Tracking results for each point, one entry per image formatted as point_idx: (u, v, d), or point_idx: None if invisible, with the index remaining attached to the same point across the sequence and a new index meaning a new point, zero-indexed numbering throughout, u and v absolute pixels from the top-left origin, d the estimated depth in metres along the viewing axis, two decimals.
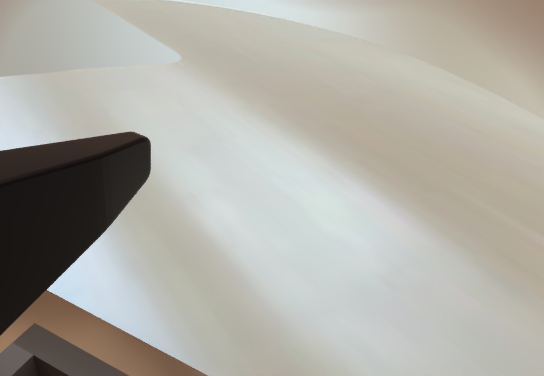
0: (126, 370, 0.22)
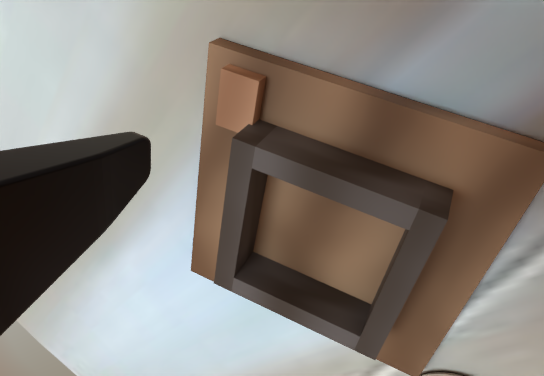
0: (221, 201, 0.26)
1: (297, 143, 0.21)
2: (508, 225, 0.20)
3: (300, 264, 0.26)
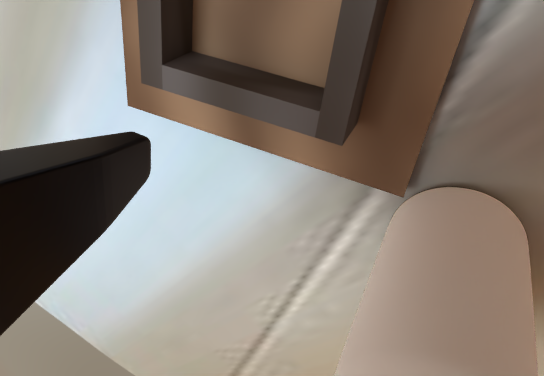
0: None
1: None
2: None
3: (248, 53, 0.21)
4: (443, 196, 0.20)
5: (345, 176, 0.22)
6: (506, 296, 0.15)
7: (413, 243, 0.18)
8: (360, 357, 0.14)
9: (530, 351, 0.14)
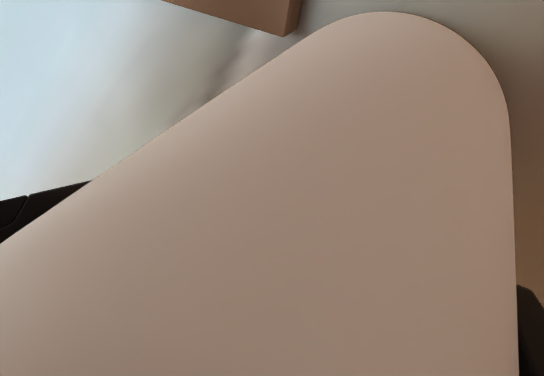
0: None
1: None
2: None
3: None
4: (349, 20, 0.10)
5: (184, 3, 0.12)
6: (442, 156, 0.06)
7: (253, 73, 0.08)
8: None
9: (499, 302, 0.05)
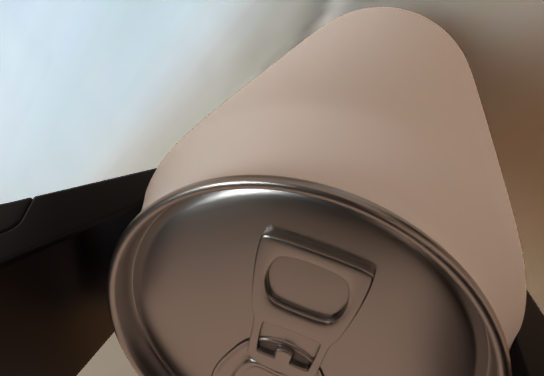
0: None
1: None
2: None
3: None
4: (343, 16, 0.14)
5: None
6: (433, 64, 0.09)
7: (292, 49, 0.11)
8: (162, 160, 0.07)
9: (482, 130, 0.08)
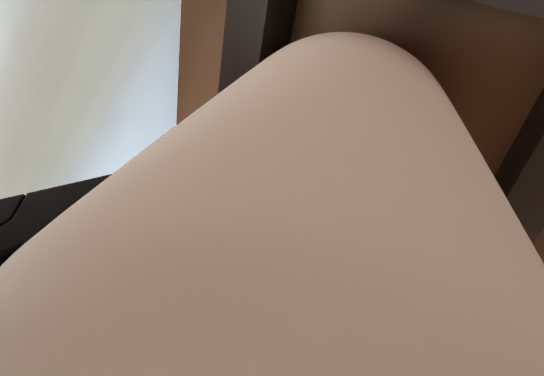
0: (218, 73, 0.17)
1: None
2: None
3: None
4: (295, 43, 0.11)
5: None
6: (425, 109, 0.06)
7: (227, 87, 0.08)
8: None
9: (513, 212, 0.05)
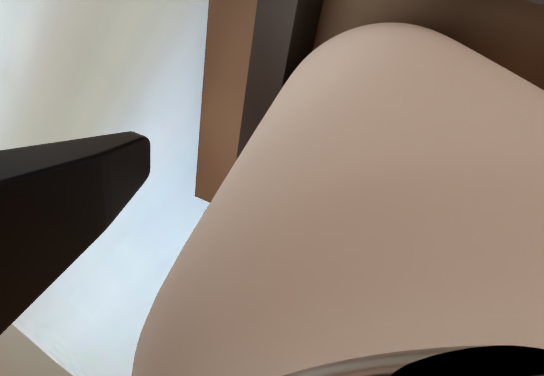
0: (243, 67, 0.17)
1: None
2: None
3: None
4: (362, 28, 0.11)
5: None
6: None
7: (327, 61, 0.08)
8: (207, 238, 0.04)
9: None
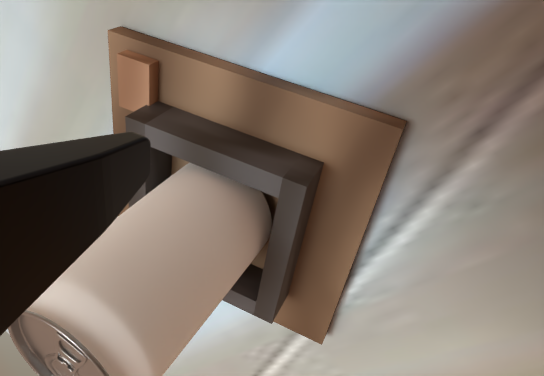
0: None
1: (187, 121, 0.23)
2: (372, 194, 0.22)
3: None
4: None
5: (281, 324, 0.30)
6: (187, 253, 0.19)
7: (149, 199, 0.21)
8: None
9: (185, 297, 0.18)
